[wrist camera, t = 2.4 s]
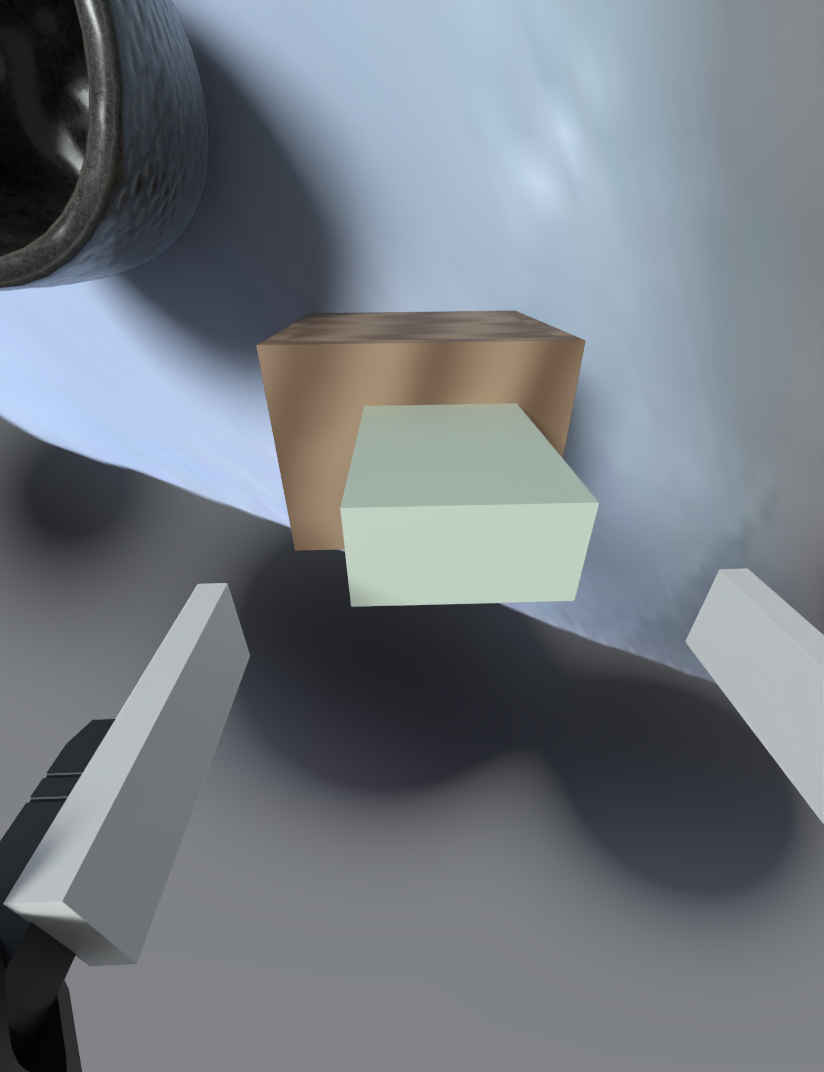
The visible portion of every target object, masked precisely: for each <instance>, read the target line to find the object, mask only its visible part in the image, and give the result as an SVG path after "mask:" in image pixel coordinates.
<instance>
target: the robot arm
mask: <svg viewBox="0 0 824 1072" xmlns="http://www.w3.org/2000/svg"><path fill="white" fill-rule="evenodd" d="M685 642H686V643H687V645H688V646H689V647H690V649H691V650H692V651H693V653H694V654H695V655H696V657H697V658H698V659H699V661H700V662H701V663H702V665H703V666H704V667H705V668H706V670H707V671H708V672H709V674H710V675H711V676H712V678H713V679H714V680H715V682H716V683H717V684H718V686H719V687H720V688H721V689H722V691H723V692H724V694H725V695H726V696H727V697H728V699H729V700H730V701H731V703H732V704H733V705H734V707H735V708H736V709H737V711H738V712H739V713H740V715H741V716H742V717H743V719H744V720H745V721H746V723H747V724H748V725H749V726H750V728H751V729H752V730H753V732H754V733H755V734H756V736H757V737H758V738H759V740H760V741H761V742H762V744H763V745H764V746H765V748H766V749H767V750H768V751H769V753H770V754H771V755H772V757H773V758H774V759H775V760H776V762H777V763H778V765H779V766H780V767H781V769H782V770H783V771H784V772H785V774H786V775H787V777H788V778H789V779H790V780H791V782H792V783H793V784H794V786H795V787H796V788H797V790H798V791H799V792H800V794H801V795H802V796H803V797H804V799H805V800H806V801H807V803H808V804H809V805H810V807H811V808H812V809H813V811H814V812H815V813H816V815H817V816H818V817H819V819H820V820H821V821H822V823H823V824H824V635H823V634H822V633H821V632H819V631H818V630H817V629H816V628H815V627H814V626H813V625H811V624H810V623H809V622H808V621H807V620H806V619H805V618H803V617H802V616H801V615H800V614H799V613H798V612H797V611H795V610H794V609H793V608H792V607H791V606H790V605H789V604H787V603H786V602H785V601H784V600H783V599H782V598H781V597H779V596H778V595H777V594H776V593H775V592H774V591H773V590H771V589H770V588H769V587H768V586H767V585H766V584H765V583H763V582H762V581H761V580H760V579H759V578H758V577H757V576H755V575H754V574H753V573H752V572H751V571H750V570H749V569H720V570H719V572H718V574H717V576H716V578H715V580H714V582H713V584H712V586H711V589H710V591H709V593H708V595H707V597H706V599H705V601H704V603H703V605H702V608H701V610H700V612H699V614H698V616H697V618H696V620H695V622H694V624H693V627H692V629H691V631H690V633H689V635H688V637H687V639H686V641H685ZM249 657H250V655H249V651H248V648H247V645H246V642H245V639H244V635H243V632H242V629H241V626H240V622H239V619H238V616H237V613H236V610H235V606H234V603H233V600H232V597H231V594H230V590H229V587H228V584H227V583H219V584H198V585H197V586H196V588H195V590H194V591H193V593H192V594H191V596H190V598H189V600H188V601H187V603H186V604H185V606H184V608H183V609H182V611H181V613H180V614H179V616H178V617H177V619H176V621H175V622H174V624H173V626H172V627H171V629H170V631H169V632H168V634H167V635H166V637H165V639H164V640H163V642H162V644H161V645H160V647H159V649H158V650H157V652H156V653H155V655H154V657H153V658H152V660H151V662H150V663H149V665H148V667H147V669H146V670H145V672H144V673H143V675H142V676H141V678H140V680H139V681H138V683H137V685H136V686H135V688H134V690H133V692H132V693H131V695H130V696H129V698H128V700H127V701H126V703H125V704H124V706H123V708H122V710H121V711H120V713H119V714H118V716H117V718H116V719H106V720H105V719H104V720H92V721H91V722H90V723H89V724H88V725H87V726H85V727H84V728H83V729H82V730H81V731H80V732H79V733H78V734H77V735H76V736H75V737H73V738H72V739H71V740H70V741H69V742H68V743H67V744H66V745H65V747H64V748H63V750H62V751H61V752H60V754H59V756H58V757H57V758H56V760H55V762H54V763H53V764H52V766H51V767H50V769H49V770H48V772H47V776H46V778H43V779H42V780H41V782H40V783H39V785H38V786H37V788H36V789H35V791H34V792H33V794H32V795H31V800H30V802H29V803H26V804H25V806H24V807H23V808H22V810H21V812H20V813H19V814H18V816H17V818H16V819H15V821H14V822H13V823H12V825H11V826H10V828H9V829H8V831H7V832H6V833H5V835H4V836H3V838H2V840H1V841H0V1072H82V1069H81V1063H80V1056H79V1051H78V1044H77V1038H76V1032H75V1025H74V1019H73V1013H72V1006H71V1000H70V994H69V989H68V987H67V984H66V982H65V980H64V979H65V977H66V975H67V972H68V970H69V968H70V966H71V964H72V962H73V959H74V957H75V956H77V957H78V958H79V959H81V960H82V961H84V962H85V963H86V964H88V965H89V966H104V965H125V964H137V962H138V959H139V956H140V953H141V951H142V948H143V945H144V942H145V940H146V937H147V934H148V932H149V929H150V926H151V924H152V921H153V918H154V915H155V912H156V910H157V907H158V904H159V902H160V899H161V896H162V894H163V891H164V888H165V885H166V883H167V880H168V877H169V874H170V872H171V869H172V866H173V863H174V861H175V858H176V855H177V853H178V850H179V847H180V845H181V842H182V839H183V836H184V834H185V831H186V828H187V826H188V823H189V820H190V817H191V815H192V812H193V809H194V806H195V804H196V801H197V798H198V796H199V793H200V790H201V787H202V785H203V782H204V779H205V776H206V774H207V771H208V768H209V765H210V763H211V760H212V757H213V755H214V752H215V749H216V746H217V744H218V741H219V738H220V736H221V733H222V730H223V727H224V725H225V722H226V719H227V716H228V714H229V711H230V708H231V706H232V703H233V700H234V697H235V695H236V692H237V689H238V686H239V684H240V681H241V678H242V676H243V673H244V670H245V667H246V665H247V662H248V659H249Z"/></svg>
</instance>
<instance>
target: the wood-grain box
mask: <svg viewBox="0 0 824 1072" xmlns="http://www.w3.org/2000/svg"><path fill="white" fill-rule="evenodd" d="M584 345H585V340H583V339H581V338H578V337H576V336H574V335H571V334H569V333H567V332H564V331H562V330H559V329H557V328H555V327H552V326H550V325H548V324H545V323H543V322H541V321H538V320H536V319H534V318H531V317H529V316H526V315H524V314H522V313H519V312H517V311H460V312H387V313H314V314H309V315H307V316H305V317H303V318H302V319H300V320H298V321H297V322H295V323H293V324H292V325H290V326H288V327H287V328H285V329H283V330H281V331H280V332H278V333H276V334H275V335H273V336H271V337H270V338H268V339H266V340H264V341H263V342H261V343H259V344H258V345H256V347H257V352H258V357H259V363H260V368H261V373H262V378H263V384H264V389H265V394H266V399H267V405H268V410H269V415H270V420H271V426H272V431H273V436H274V442H275V447H276V452H277V457H278V463H279V468H280V473H281V478H282V484H283V489H284V494H285V499H286V505H287V510H288V515H289V520H290V526H291V531H292V536H293V541H294V547H295V550H327V549H328V550H330V549H345V546H344V537H343V528H342V519H341V511H340V507H341V503H342V498H343V494H344V490H345V486H346V481H347V477H348V473H349V469H350V465H351V460H352V456H353V452H354V448H355V443H356V439H357V435H358V431H359V427H360V422H361V418H362V414H363V410H364V406H398V405H456V404H514V403H517V404H518V405H519V407H520V408H521V409H522V410H523V411H524V413H525V414H526V415H527V416H528V417H529V419H530V420H531V421H532V422H533V423H534V425H535V426H536V427H537V428H538V429H539V431H540V432H541V433H542V434H543V435H544V437H545V438H546V439H547V440H548V441H549V443H550V444H551V445H552V446H553V447H554V449H555V450H556V451H557V452H558V453H559V455H560V456H561V457H562V458H563V455H564V450H565V445H566V439H567V434H568V429H569V424H570V419H571V413H572V408H573V403H574V398H575V392H576V387H577V382H578V377H579V371H580V366H581V361H582V356H583V351H584Z"/></svg>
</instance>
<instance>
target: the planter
mask: <svg viewBox="0 0 824 1072" xmlns="http://www.w3.org/2000/svg"><path fill="white" fill-rule="evenodd" d="M208 155H209V138H208V118H207V112H206V105H205V99H204V92H203V87H202V84H201V80H200V76H199V72H198V69H197V65H196V61H195V58H194V54H193V51H192V48H191V45H190V43H189V40H188V38H187V35H186V32H185V30H184V27H183V24H182V22H181V19H180V17H179V14H178V11H177V9H176V7H175V5H174V3H173V1H172V0H0V291H10V290H18V289H27V288H41V287H53V286H61V285H68V284H75V283H80V282H85V281H90V280H95V279H100V278H105V277H108V276H111V275H114V274H117V273H120V272H123V271H126V270H129V269H132V268H135V267H137V266H140V265H143V264H144V263H146V262H148V261H150V260H151V259H153V258H154V257H156V256H158V255H159V254H161V253H162V252H164V251H165V250H166V249H167V248H168V247H169V246H170V245H171V244H172V243H173V242H174V241H175V240H176V239H177V238H178V237H179V236H180V235H181V234H182V233H183V231H184V230H185V228H186V227H187V225H188V224H189V222H190V221H191V219H192V218H193V215H194V213H195V211H196V208H197V206H198V204H199V201H200V199H201V196H202V192H203V188H204V183H205V179H206V175H207V165H208Z"/></svg>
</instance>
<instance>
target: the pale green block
mask: <svg viewBox="0 0 824 1072" xmlns="http://www.w3.org/2000/svg"><path fill="white" fill-rule="evenodd" d="M598 506H599V502H598V500H597V499H596V498H595V497H594V496H593V494H592V493H591V492H590V491H589V489H588V488H587V487H586V486H585V485H584V483H583V482H582V481H581V480H580V479H579V477H578V476H577V475H576V474H575V473H574V471H573V470H572V469H571V468H570V467H569V465H568V464H567V463H566V462H565V461H564V459H563V458H562V457H561V456H560V455H559V453H558V452H557V451H556V450H555V449H554V447H553V446H552V445H551V444H550V443H549V441H548V440H547V439H546V438H545V437H544V435H543V434H542V433H541V432H540V431H539V429H538V428H537V427H536V426H535V425H534V423H533V422H532V421H531V420H530V419H529V417H528V416H527V415H526V414H525V413H524V411H523V410H522V409H521V408H520V407H519V405H518V404H517V403H514V404H456V405H398V406H364V410H363V414H362V418H361V422H360V427H359V431H358V435H357V439H356V443H355V448H354V452H353V456H352V460H351V465H350V469H349V473H348V477H347V481H346V486H345V490H344V494H343V498H342V503H341V507H340V511H341V519H342V528H343V537H344V546H345V554H346V563H347V572H348V581H349V590H350V598H351V606H389V605H426V604H427V605H428V604H467V603H509V602H548V601H574V600H575V596H576V592H577V588H578V584H579V580H580V576H581V572H582V569H583V565H584V561H585V557H586V553H587V549H588V545H589V541H590V537H591V533H592V529H593V525H594V522H595V518H596V514H597V510H598Z"/></svg>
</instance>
